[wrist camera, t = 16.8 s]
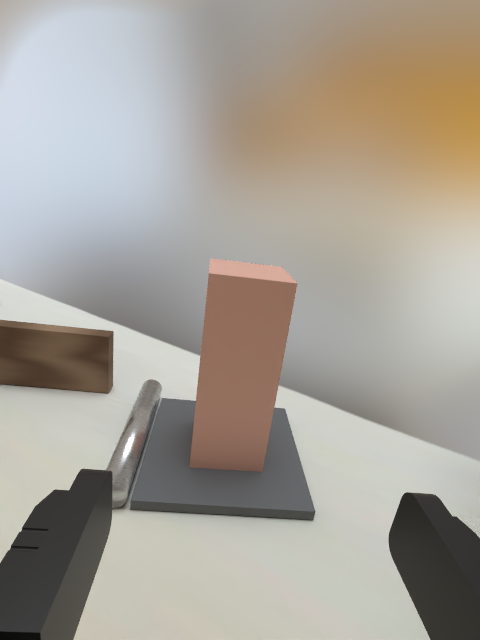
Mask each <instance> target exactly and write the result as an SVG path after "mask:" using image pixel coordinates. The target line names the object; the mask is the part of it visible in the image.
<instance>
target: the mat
mask: <svg viewBox="0 0 480 640" xmlns="http://www.w3.org/2000/svg"><path fill="white" fill-rule="evenodd" d="M195 407H196V401H190V400H178V399H166V398H162V400H161V404H160V407H159V410H158V413H157V417H156V420H155V423H154V426H153V430H152V433H151V436H150V440H149V443H148V446H147V449H146V453H145V456H144V459H143V462H142V466H141V469H140V472H139V476H138V479H137V482H136V485H135V489H134V492H133V495H132V498H131V509H135V510H153V511H170V512H187V513H204V514H221V515H239V516H256V517H273V518H290V519H307V520H313V518H314V514H315V509H314V506H313V502H312V499H311V496H310V492H309V489H308V485H307V482H306V479H305V475H304V472H303V469H302V465H301V462H300V458H299V455H298V452H297V448H296V445H295V441H294V438H293V435H292V431H291V428H290V424H289V421H288V418H287V414H286V411H285V409H283V408H274V411H273V417H272V422H271V428H270V433H269V438H268V444H267V449H266V455H265V460H264V465H263V471H262V472H258V471H241V470H224V469H208V468H191V467H189V466H190V456H191V446H192V436H193V426H194V416H195Z"/></svg>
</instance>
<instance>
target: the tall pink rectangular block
mask: <svg viewBox="0 0 480 640" xmlns="http://www.w3.org/2000/svg"><path fill="white" fill-rule="evenodd" d="M296 287H297V283H296V281H295V280H294V279H293V278H292V277H291V276H290V275H289V274H288V273H287V272H286V271H285V270H284V269H283V268H282V267H278V266H270V265H261V264H252V263H244V262H236V261H227V260H219V259H211V261H210V269H209V278H208V288H207V298H206V307H205V317H204V327H203V337H202V347H201V357H200V367H199V377H198V387H197V397H196V407H195V416H194V426H193V436H192V446H191V456H190V466H189V467H191V468H208V469H224V470H241V471H258V472H262V471H263V465H264V460H265V455H266V449H267V444H268V438H269V433H270V428H271V422H272V417H273V411H274V406H275V401H276V395H277V390H278V385H279V379H280V373H281V368H282V363H283V358H284V352H285V347H286V341H287V336H288V331H289V325H290V319H291V314H292V309H293V303H294V298H295V293H296Z"/></svg>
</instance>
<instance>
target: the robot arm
mask: <svg viewBox="0 0 480 640" xmlns="http://www.w3.org/2000/svg"><path fill="white" fill-rule="evenodd" d="M112 482H113V475H112V471H107V470H92V469H81V470H80V472H79V473H78V475H77V477H76V478H75V480H74V482H73V484H72V486H71V488H70V490H69V491H67V490H54V491H53V492H51V493H50V494H49V495H48V496H47V497H46V498H45V499H43V500H42V501H41V502H40V503H39V504H38V505H37V506H35V508H34V509H33V511H32V513H31V514H30V516H29V518H28V519H27V521H26V522H25V524H24V526H23V527H22V531H21V532H19V534H18V535H17V537H16V539H15V540H14V542H13V544H12V545H11V549H10V551H9V550H8V552H7V553H6V555H5V557H4V558H3V560H2V561H1V563H0V640H73V638H74V636H75V633H76V630H77V627H78V624H79V621H80V618H81V615H82V612H83V609H84V606H85V604H86V601H87V598H88V595H89V592H90V589H91V586H92V583H93V580H94V577H95V574H96V571H97V569H98V566H99V563H100V560H101V557H102V554H103V551H104V548H105V545H106V542H107V539H108V535H109V531H110V526H111V520H112ZM389 548H390V552H391V555H392V558H393V560H394V563H395V565H396V567H397V569H398V571H399V573H400V575H401V577H402V580H403V582H404V584H405V586H406V588H407V590H408V592H409V594H410V597H411V599H412V601H413V603H414V605H415V607H416V609H417V611H418V614H419V616H420V618H421V620H422V622H423V624H424V626H425V628H426V631H427V633H428V635H429V637H430V639H431V640H480V538H479V537H478V536H477V534H475V533H474V532H473V531H472V530H471V529H470V528H469V527H467V526H466V525H465V524H464V523H463V522H462V521H461V520H460V519H458V518H457V517H453V516H452V515H451V514H450V513H449V511H448V510H447V508H446V507H445V506H444V504H443V503H442V501H441V500H440V499H439V498H438V497H437V496H436V495H433V494H422V493H405V494H404V495H403V496H402V498H401V501H400V504H399V507H398V509H397V512H396V515H395V518H394V521H393V524H392V526H391V529H390V532H389Z"/></svg>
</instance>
